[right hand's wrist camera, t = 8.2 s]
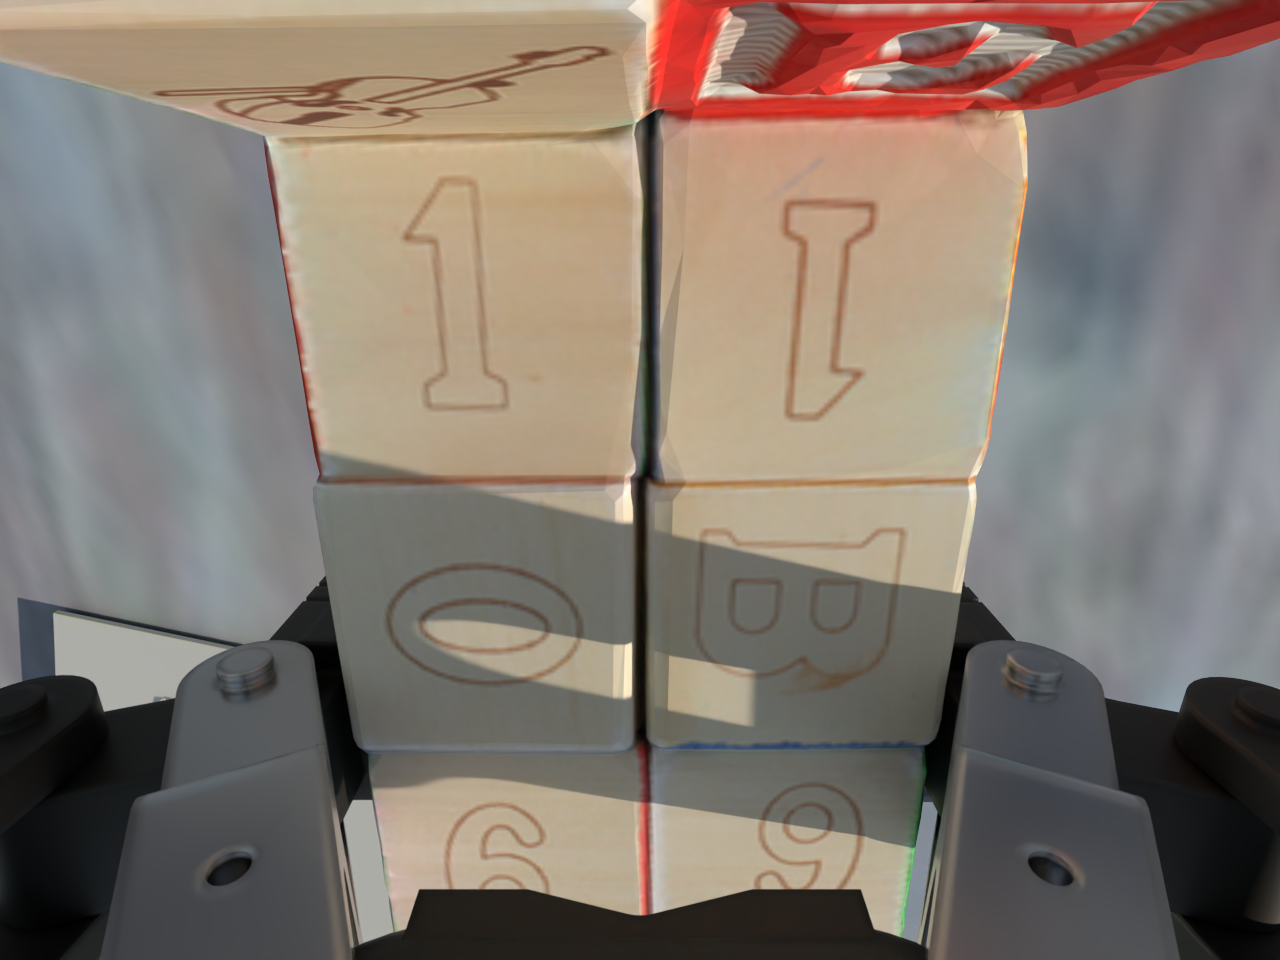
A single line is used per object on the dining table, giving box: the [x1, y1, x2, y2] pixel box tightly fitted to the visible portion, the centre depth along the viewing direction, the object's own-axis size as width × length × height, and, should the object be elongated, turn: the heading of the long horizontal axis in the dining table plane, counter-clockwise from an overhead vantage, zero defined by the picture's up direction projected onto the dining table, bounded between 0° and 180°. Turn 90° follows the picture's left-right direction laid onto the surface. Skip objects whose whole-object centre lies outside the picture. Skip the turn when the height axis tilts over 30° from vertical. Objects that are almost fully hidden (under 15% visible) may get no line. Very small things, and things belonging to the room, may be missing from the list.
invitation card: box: [53, 610, 394, 943], centre depth 29 cm, size 21×1×15 cm
